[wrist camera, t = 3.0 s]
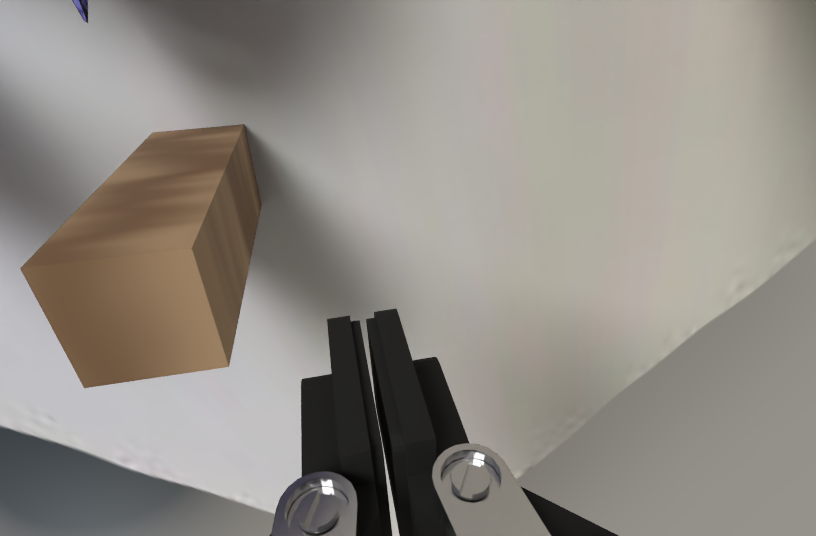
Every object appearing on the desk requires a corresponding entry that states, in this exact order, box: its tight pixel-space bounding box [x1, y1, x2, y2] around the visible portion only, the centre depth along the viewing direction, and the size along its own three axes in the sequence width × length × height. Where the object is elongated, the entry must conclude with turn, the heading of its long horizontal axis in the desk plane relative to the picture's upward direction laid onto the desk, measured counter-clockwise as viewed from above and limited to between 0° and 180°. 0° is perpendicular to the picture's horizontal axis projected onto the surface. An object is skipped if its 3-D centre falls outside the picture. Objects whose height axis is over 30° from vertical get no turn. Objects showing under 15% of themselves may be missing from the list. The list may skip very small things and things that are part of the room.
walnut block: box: [20, 125, 261, 388], centre depth 18 cm, size 4×4×12 cm
